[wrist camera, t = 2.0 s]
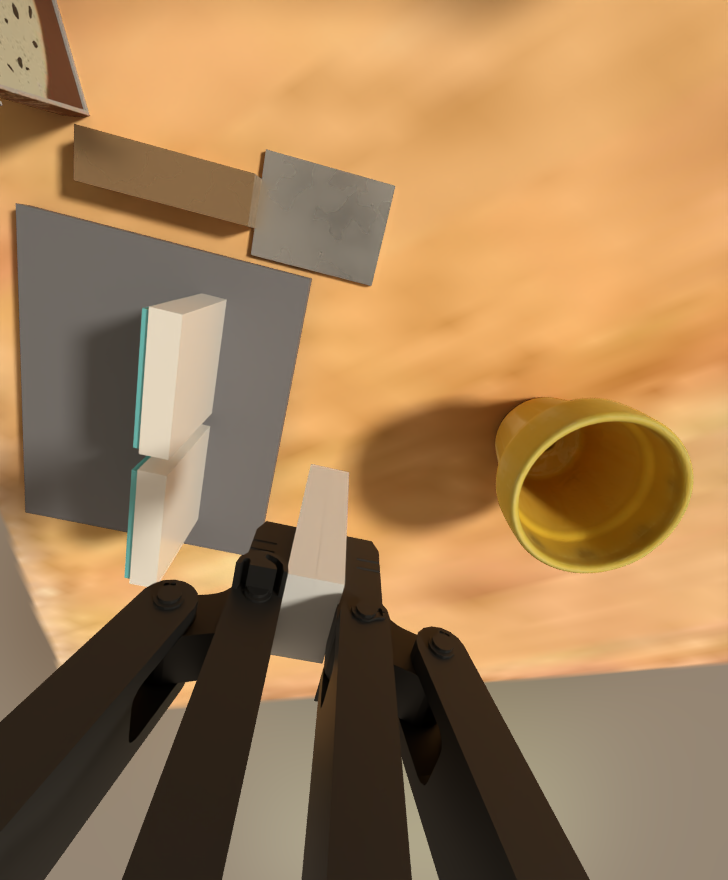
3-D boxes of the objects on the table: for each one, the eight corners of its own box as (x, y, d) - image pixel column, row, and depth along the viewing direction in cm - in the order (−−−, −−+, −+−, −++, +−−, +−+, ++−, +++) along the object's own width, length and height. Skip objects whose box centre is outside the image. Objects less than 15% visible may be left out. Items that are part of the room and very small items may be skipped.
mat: (29, 205, 29) (15, 203, 28) (311, 278, 30) (310, 279, 29) (35, 504, 37) (25, 512, 36) (259, 548, 38) (256, 557, 37)
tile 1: (195, 291, 30) (140, 304, 22) (226, 299, 30) (182, 314, 22) (183, 407, 32) (131, 452, 25) (211, 413, 33) (168, 460, 25)
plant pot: (606, 355, 33) (701, 394, 24) (610, 482, 36) (693, 558, 27) (461, 387, 33) (499, 437, 24) (480, 508, 37) (519, 590, 28)
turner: (95, 214, 29) (73, 210, 27) (98, 103, 27) (74, 89, 25) (371, 285, 31) (372, 287, 29) (394, 187, 29) (397, 181, 26)
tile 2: (182, 419, 33) (130, 468, 25) (210, 426, 33) (166, 476, 26) (172, 514, 36) (122, 582, 28) (198, 519, 36) (155, 588, 28)
